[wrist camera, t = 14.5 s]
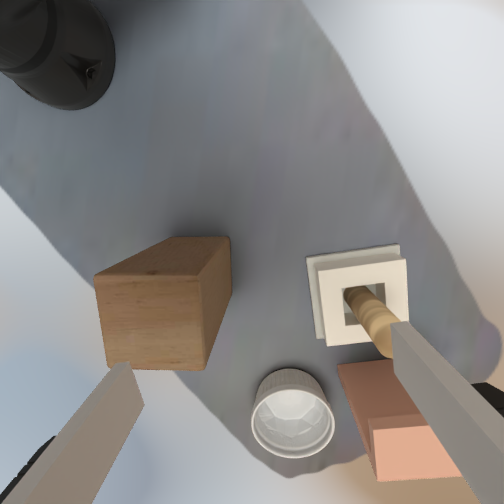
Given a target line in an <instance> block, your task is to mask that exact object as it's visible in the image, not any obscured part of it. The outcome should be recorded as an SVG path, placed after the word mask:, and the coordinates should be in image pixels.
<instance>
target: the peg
mask: <svg viewBox="0 0 504 504" xmlns="http://www.w3.org/2000/svg"><path fill="white" fill-rule="evenodd" d="M343 297H344V300H345V302H346V303H347V305H348V306H349V307H350V309H351V310H352V312H353V313H354V315H355V316H356V318H357V319H358V321H359V322H360V324H361V325H362V327H363V328H364V330H365V331H366V332H367V334H368V335H369V337H370V338H371V340H372V341H373V343H374V344H375V346H376V347H377V349H378V350H379V352H380V353H381V354H382V355H384V356H385V357H387V358H391V359H393V353H392V340H391V328H390V323H395V322H401V321H400V320H399V319H398V318H397V317H396V316H395V315H394V314H393V313H392V312H391V311H390V310H389V309H388V308H387V307H386V306H385V305H384V304H383V303H382V302H381V301H380V300H379V299H378V298H377V297H376V296H375V295H374V294H373V293H372V292H371V291H370V290H369V289H368V288H367V287H366V286H365V285H362V286H354V287H347V288H345V290H344V293H343Z"/></svg>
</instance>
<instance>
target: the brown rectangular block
mask: <svg viewBox="0 0 504 504" xmlns="http://www.w3.org/2000/svg"><path fill="white" fill-rule="evenodd" d="M337 367H338V375H339V378H340V381H341V383H342V386H343V389H344V391H345V394H346V397H347V400H348V402H349V405H350V408H351V411H352V413H353V416H354V419H355V421H356V424H357V427H358V430H359V432H360V435H361V438H362V441H363V443H364V446H365V449H366V451H367V454H368V457H369V459H370V462H371V465H372V468H373V470H374V473H375V476H376V479H377V481H394V480H411V479H427V478H442V477H458V476H462V474H461V473H460V471H459V470H458V468H457V467H456V465H455V464H454V462H453V461H452V459H451V458H450V456H449V455H448V453H447V452H446V450H445V449H444V447H443V445H442V444H441V442H440V441H439V439H438V438H437V436H436V435H435V433H434V432H433V430H432V429H431V427H430V426H429V424H428V423H427V421H426V420H425V418H424V417H423V415H422V414H421V412H420V411H419V409H418V408H417V406H416V405H415V403H414V402H413V400H412V399H411V397H410V396H409V394H408V393H407V391H406V390H405V388H404V387H403V385H402V384H401V382H400V381H399V379H398V378H397V376H396V375H395V373H394V365H393V359H386V360H376V361H367V362H357V363H348V364H338V365H337Z"/></svg>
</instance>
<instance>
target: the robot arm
mask: <svg viewBox="0 0 504 504" xmlns="http://www.w3.org/2000/svg"><path fill="white" fill-rule="evenodd" d="M114 65H115V50H114V43H113V39H112V35H111V33H110V30H109V27H108V25H107V23H106V21H105V20H104V18H103V16H102V15H101V13H100V12H99V11H98V10H97V8H96V7H95V6H94V5H93V4H92V3H91V2H90V1H89V0H0V71H1V72H2V73H3V74H5V75H6V76H7V77H9V78H10V79H12V80H13V81H14V82H15V83H16V84H17V85H18V86H19V87H20V88H21V89H22V90H23V91H25V92H26V93H27V94H28V95H30V96H31V97H33V98H35V99H36V100H38V101H40V102H42V103H45V104H47V105H50V106H53V107H56V108H59V109H64V110H77V109H81V108H85V107H87V106H89V105H91V104H93V103H94V102H95V101H97V100H98V99H99V98H100V97H101V96H102V95H103V93H104V92H105V91H106V89H107V87H108V85H109V83H110V81H111V78H112V75H113V71H114ZM390 328H391V340H392V353H393V365H394V373H395V375H396V376H397V378H398V379H399V381H400V382H401V384H402V385H403V387H404V388H405V390H406V391H407V393H408V394H409V396H410V397H411V399H412V400H413V402H414V403H415V405H416V406H417V408H418V409H419V411H420V412H421V414H422V415H423V417H424V418H425V420H426V421H427V423H428V424H429V426H430V427H431V429H432V430H433V432H434V433H435V435H436V436H437V438H438V439H439V441H440V442H441V444H442V445H443V447H444V449H445V450H446V452H447V453H448V455H449V456H450V458H451V459H452V461H453V462H454V464H455V465H456V467H457V468H458V470H459V471H460V473H461V474H462V476H463V477H464V479H465V480H466V482H467V483H468V485H469V486H470V488H471V489H472V491H473V492H474V494H475V495H476V496H477V498H478V500H479V501H480V503H481V504H504V392H503V391H501V390H499V389H497V388H495V387H494V386H492V385H490V384H488V383H486V382H485V383H476V384H469V383H468V382H467V381H466V380H465V379H464V378H463V377H462V376H461V375H460V374H459V373H458V372H457V371H456V369H455V368H454V367H453V366H452V365H451V364H450V363H449V362H448V361H447V360H446V359H445V358H444V357H443V356H442V355H441V354H440V353H439V352H438V351H437V350H436V349H435V348H434V347H433V346H432V345H431V344H430V343H429V342H428V341H427V340H426V339H425V338H424V337H423V336H422V335H421V334H420V333H419V332H418V331H417V330H416V329H415V328H414V327H413V326H412V325H411V324H410V323H409V322H408V321H402V322H395V323H390ZM143 407H144V402H143V399H142V396H141V393H140V390H139V388H138V385H137V382H136V379H135V376H134V373H133V371H132V368H131V365H130V362H122V363H115V365H114V366H113V367H112V368H111V370H110V371H109V372H108V373H107V374H106V376H105V377H104V378H103V379H102V381H101V382H100V383H99V384H98V386H97V387H96V388H95V389H94V391H93V392H92V393H91V394H90V395H89V397H88V398H87V399H86V400H85V402H84V403H83V404H82V405H81V407H80V408H79V409H78V410H77V411H76V413H75V414H74V415H73V416H72V418H71V419H70V420H69V421H68V422H67V424H66V425H65V426H64V427H63V429H62V430H61V431H60V432H59V433H58V435H57V436H53V437H52V438H51V439H50V440H48V441H47V442H46V443H45V444H44V445H43V446H41V447H40V448H39V449H38V450H37V452H36V453H35V454H34V455H33V456H32V458H31V459H30V460H29V461H28V463H27V465H25V466H24V467H23V468H22V469H21V471H20V472H19V473H18V475H17V477H15V478H14V479H13V480H12V481H11V482H10V484H9V485H8V486H7V487H6V489H5V490H4V491H3V492H2V493H1V494H0V504H92V502H93V500H94V498H95V497H96V495H97V493H98V491H99V489H100V487H101V485H102V483H103V482H104V480H105V478H106V476H107V474H108V472H109V471H110V468H111V467H112V465H113V463H114V461H115V459H116V457H117V456H118V454H119V452H120V450H121V448H122V446H123V444H124V443H125V441H126V439H127V437H128V435H129V433H130V431H131V429H132V428H133V426H134V424H135V422H136V420H137V418H138V416H139V415H140V413H141V411H142V409H143Z"/></svg>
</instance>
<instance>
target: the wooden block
mask: <svg viewBox="0 0 504 504" xmlns="http://www.w3.org/2000/svg"><path fill="white" fill-rule="evenodd" d="M93 280H94V286H95V292H96V299H97V304H98V311H99V317H100V323H101V329H102V336H103V342H104V348H105V354H106V361H107V366H108V367H109V368H112V367H113V366H114V365H115V363H122V362H130V365H131V368H132V369H143V370H146V369H147V370H187V371H201V370H204V369H205V367H206V364H207V362H208V359H209V356H210V353H211V350H212V348H213V345H214V342H215V339H216V336H217V334H218V331H219V328H220V325H221V323H222V320H223V317H224V314H225V311H226V309H227V306H228V303H229V300H230V297H231V295H232V278H231V254H230V239H229V237H227V236H224V237H170V238H168V239H166V240H164V241H162V242H160V243H158V244H156V245H154V246H152V247H150V248H148V249H146V250H144V251H142V252H140V253H138V254H136V255H133V256H131V257H129V258H127V259H125V260H123V261H121V262H119V263H117V264H115V265H113V266H111V267H109V268H107V269H105V270H103V271H101V272H99V273H97V274H95V275H94V279H93Z"/></svg>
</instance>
